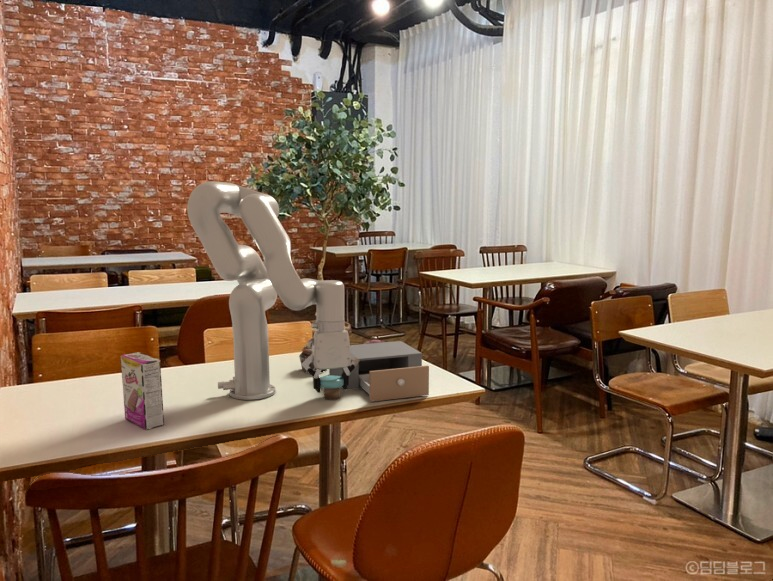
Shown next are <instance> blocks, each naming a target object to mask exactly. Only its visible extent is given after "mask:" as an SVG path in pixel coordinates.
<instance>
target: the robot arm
mask: <svg viewBox="0 0 773 581" xmlns="http://www.w3.org/2000/svg"><path fill="white" fill-rule="evenodd" d="M186 208H187V209H186V210H187V216H188V220H189V222H190V225H191V227H192V229H193V230H194V232H195V234H196V236H197V237H198V239H199V241H200V243H201V244H202V246H203V249H204V250H205V252H206V254H207V257H208V258H209V260H210V261H211V264H212V266H213V268H214V269H215V272H216V273H217V275H218V276H219V277H220V278H221V279H222V280H224V281H227V282H234V281H237V285H236V286H235V287H234V288H233V289H232V291H231V292H230V295H229V298H228V307H229V308H228V309H229V312H230V317H231V323H232V324H231V326H232V340H233V365H234V376H232V379H229V380H227V381H218V382H217V389H218V390H222V389H223V391H228V390H229V396H230V397H231V398H233V399H236V400H243V401H244V400H245V401H252V400H253V401H255V400H261V399H266V398H269V397H271V396H273V395H274V394H275V393H276V387H275V385H273V384H271V382H270V381H271V380H270V353H269V352H270V349H269V348H270V347H269V343H270V342H269V328H268V327H269V326H268V321H267V320H268V319H267V317H266V311H267V310H269V309H271V308H272V307H273V306H274V305H275V303H276V302H277V299H278V297H279V300H280V301H281V302H282V303H283V305H284V306H285V307H286V308H288V309H290V310H291V311H301V310H304V309H306V308H307V307H310V306H313V305H316V319H315V322H312V323H311V324H310V325H311V329H316V330H314V334H313V338H312V339H313V344H312V354H311V355H310V356H309V357H308V358H307V359H306V360H305V361H304V362H303V363H302V366H303V367H304V368H305V369H306V370H307V371H308V373H307V374H309V375H311V376H312V380H313V381H312V384H313V387H312V388H313V389H314V390H315V391H316V392H317V394H318V393H320V392H321V387H320V374H321V373H320V372H321V370H324V369H327V370H329V369H336V368H342V370H343V373H342V377H343V378H344V385H343V386H342V387H341V389H343V390H344V389H345V390H344V391H348V390H347V386H348V385H349V375H350V373H351V372H352V370H353V369H354V368H355V366H356V365H357V364H358V363H359V361H360V360H359V359H358V358H357V357H355V356H354V355H353V354H352V353H350V345H351V344H350V342H351V341H350V336H349V335H350V334H349V332H348V331H349V330H347V329H345V328H346V327H345V326H346V325H345V285H344V283H343V282H342V281H341V280H335V279H330V280H329V279H326V280H321V279H319V280H318V279H313V278H306V277H304V278H300V276H299V274H298V273H297V271H296V269H295V266H294V265H293V264H294V263H293V262H292V258H291V246H292V243H291V242H292V240H291V238H290V236H289V235H288V233H287V231H286V230H285V228H284V227H283V225H282V222H280V220H279V218H278V217H279V215H280V205H279V203H278V201H277V200H276V199H275V198H274V197H273V196H272V195H270V194H267V193H264V192H260V191H256V190H254V189H251V188H247V187H244V186H241V185H239V184H235V183H232V182H225V181H211V180H210V181H204V182H201V183H200V184H198V185H196V187H194V189H193V190H192V192H191V193H190V195H189V198H188V200H187V207H186ZM226 213H227V214H230V215H233V216H237V217H240V219H241V221H242V222H243V224H244V226H245V227H246V229H247V230H248V232H249V234H250V236H251V238H252V239H253V240H254V243H255V244H256V246H257V248H258V249H259V251H260V253H261V255H262V257H261V256H260V255H259V253H258V252H257V251H256V250H255V249H254V248H253V247H251V246H249V245H246V244H239V243H238V241H237V239H236V238H235V237H234V235H233V234H234V233H233V232H232V230H231V229H230V227H229V225H228V224H227V223H226V221H224V219H223V217H222V216H221V214H226ZM262 258H263V260H262ZM351 359H352V362H351ZM311 362H312V364H313V365H314V366H315V367H314V370H312V369H311V368H310V367H309V364H310V363H311ZM302 366H301V367H302Z"/></svg>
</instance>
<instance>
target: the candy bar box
mask: <svg viewBox="0 0 773 581" xmlns="http://www.w3.org/2000/svg"><path fill="white" fill-rule="evenodd" d="M120 365H121V366H120V367H121V368H120V369H121V378H122V380H121V381H122V394H123V406H124V408H123V409H124V419H125V420H126V421H128V422H131V424H134V425H136V426H138V427H140V428H142V429H143V430H146V429H148V430H150V429H149V428H152V429H154V428H153V427H155V428H157V427H156V426H158V427H160V426H159V425H162V426H164V425H165V418H164V417H165V416H164V402H163V401H164V400H163V399H164V398H163V397H164V396H163V385H162V370H161V368H162V367H161V359H159V358H155V357H153V356H149V355H147V354H145V353H141V352H139V351H138V352H133V353H132V352H131V353H127V354H123V355H120ZM163 424H164V425H163Z"/></svg>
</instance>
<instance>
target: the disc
mask: <svg viewBox="0 0 773 581" xmlns="http://www.w3.org/2000/svg"><path fill="white" fill-rule="evenodd" d="M319 378H320V389H324V388H327V389H333V388H339V387H340V388H342V386H343V385H344V378H343V377H341V376H335V375H323V376H321V377H320V376H319Z"/></svg>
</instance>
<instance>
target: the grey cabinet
mask: <svg viewBox="0 0 773 581" xmlns="http://www.w3.org/2000/svg"><path fill="white" fill-rule="evenodd" d="M350 353H352V354H353V355H354V356H355V357H357V358H358V359H359V360H360V361H359V363H358V364H357V365H356V366H355V368H354V369H353V370H352V372H351V373H350V375H349V385H348V386H347V390H345V389H343V390H344V391H349V390H359V389H360V390H361V389H363V388H362V387H361V386H360V385H359V375H361V374H369V371H377V370H387V369H397V368H407V367H417V366H423V353H422V352H420V350H418V349H416V348H414V347H412V346H411V345H408V344H407V343H405V342H404V341H402V340H399V341H398V340H397V341H396V340H395V341H385V342H384V343H372V344H364V343H363V344H361V343H360V344H350ZM351 362H352V359H351ZM328 371H329V372H328V373H329V375H335V376H341V377H342V373H343V370H342V368H336V369H328ZM329 375H328V376H329Z"/></svg>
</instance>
